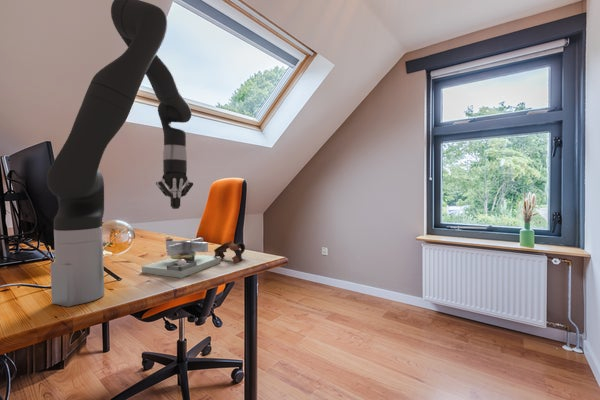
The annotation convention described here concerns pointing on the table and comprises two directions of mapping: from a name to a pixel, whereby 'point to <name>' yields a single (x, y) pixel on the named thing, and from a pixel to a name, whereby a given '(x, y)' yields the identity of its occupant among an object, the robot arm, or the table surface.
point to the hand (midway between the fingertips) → (175, 208)
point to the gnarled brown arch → (232, 247)
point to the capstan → (185, 248)
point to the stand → (173, 270)
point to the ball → (181, 262)
